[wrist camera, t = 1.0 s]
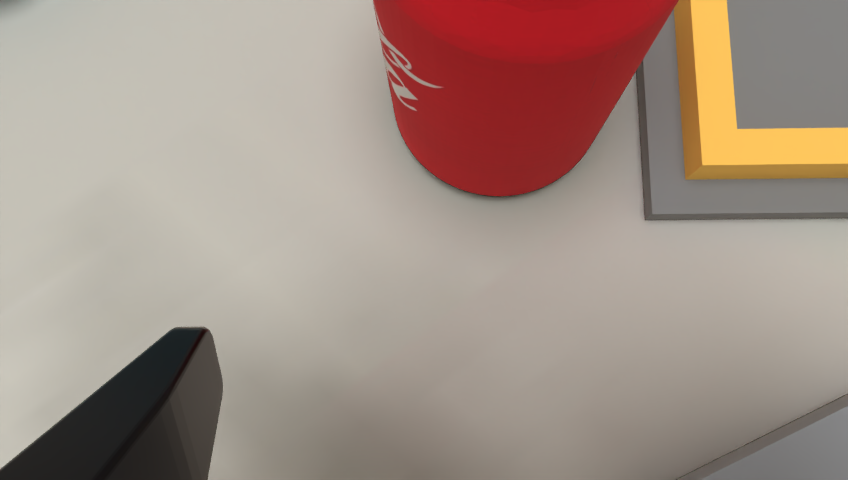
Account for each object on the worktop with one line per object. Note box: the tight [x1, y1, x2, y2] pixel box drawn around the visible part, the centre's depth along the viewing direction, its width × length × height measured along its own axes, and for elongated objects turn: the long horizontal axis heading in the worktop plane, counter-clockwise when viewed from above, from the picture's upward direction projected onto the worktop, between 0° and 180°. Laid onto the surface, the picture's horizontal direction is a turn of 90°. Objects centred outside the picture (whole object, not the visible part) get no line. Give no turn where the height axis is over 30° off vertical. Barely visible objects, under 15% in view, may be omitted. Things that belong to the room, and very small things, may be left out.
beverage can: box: [373, 0, 679, 196], centre depth 18 cm, size 6×6×12 cm
